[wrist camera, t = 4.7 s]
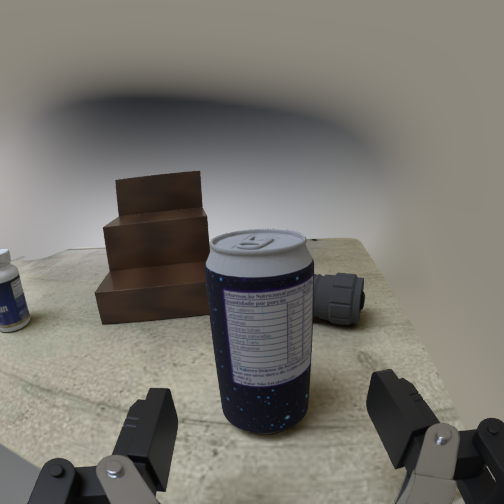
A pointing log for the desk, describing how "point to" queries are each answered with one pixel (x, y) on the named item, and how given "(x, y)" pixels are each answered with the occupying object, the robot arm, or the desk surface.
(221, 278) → the beverage can
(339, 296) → the flashlight
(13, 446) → the desk surface
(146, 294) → the wooden stair steps
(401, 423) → the robot arm
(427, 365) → the desk surface
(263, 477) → the desk surface
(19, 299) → the pill bottle
